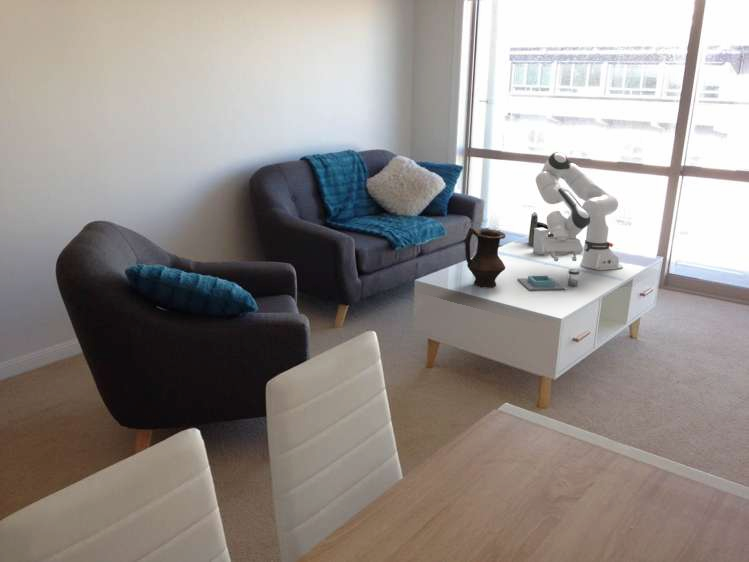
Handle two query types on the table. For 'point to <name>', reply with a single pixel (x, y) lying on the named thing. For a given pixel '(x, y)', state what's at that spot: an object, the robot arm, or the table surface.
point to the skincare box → (539, 239)
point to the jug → (485, 256)
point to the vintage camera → (535, 225)
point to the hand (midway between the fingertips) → (565, 260)
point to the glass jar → (573, 277)
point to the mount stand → (540, 283)
